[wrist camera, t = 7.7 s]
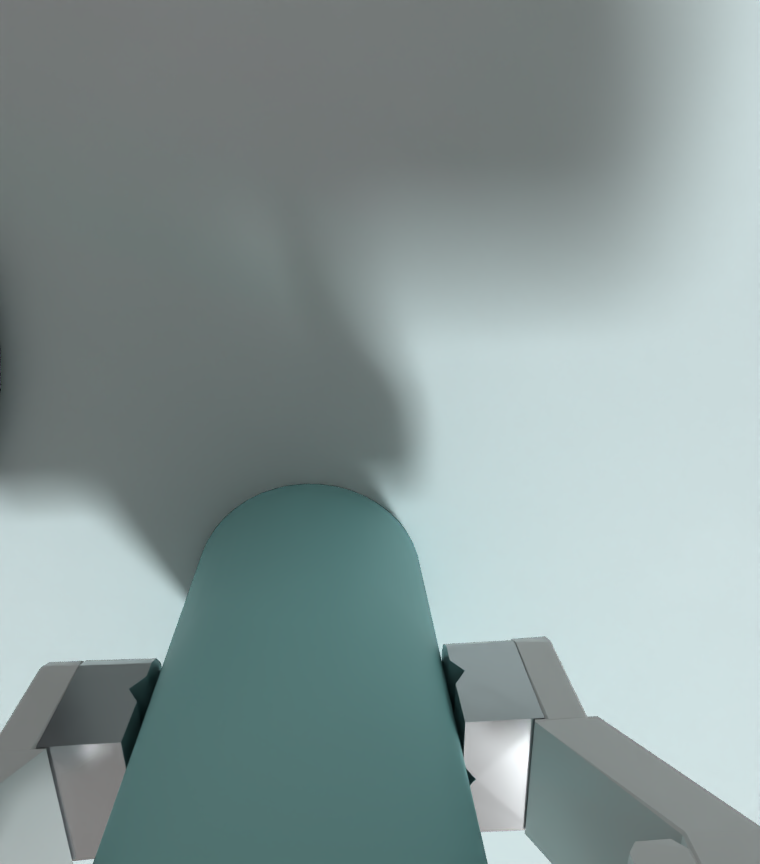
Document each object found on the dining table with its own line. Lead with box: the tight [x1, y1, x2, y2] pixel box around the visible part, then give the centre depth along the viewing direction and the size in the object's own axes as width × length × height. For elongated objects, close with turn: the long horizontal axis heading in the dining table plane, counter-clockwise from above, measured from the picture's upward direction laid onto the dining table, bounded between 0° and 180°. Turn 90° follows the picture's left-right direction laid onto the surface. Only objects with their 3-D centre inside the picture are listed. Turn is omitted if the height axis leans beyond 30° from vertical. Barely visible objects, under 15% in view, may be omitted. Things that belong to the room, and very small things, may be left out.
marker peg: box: [93, 484, 488, 864], centre depth 9 cm, size 4×4×7 cm
